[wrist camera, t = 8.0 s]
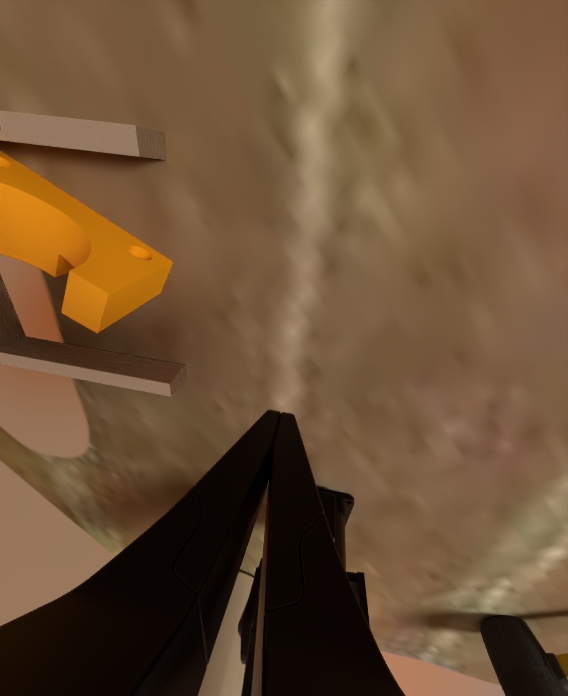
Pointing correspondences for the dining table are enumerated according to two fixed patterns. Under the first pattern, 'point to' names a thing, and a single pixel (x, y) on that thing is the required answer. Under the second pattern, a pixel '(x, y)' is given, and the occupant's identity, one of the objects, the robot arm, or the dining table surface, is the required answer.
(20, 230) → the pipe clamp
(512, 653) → the mallet
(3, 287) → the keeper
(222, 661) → the travel mug
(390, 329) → the dining table surface
